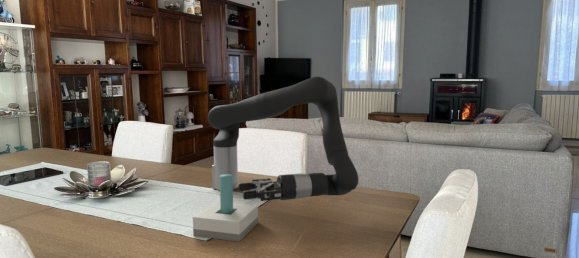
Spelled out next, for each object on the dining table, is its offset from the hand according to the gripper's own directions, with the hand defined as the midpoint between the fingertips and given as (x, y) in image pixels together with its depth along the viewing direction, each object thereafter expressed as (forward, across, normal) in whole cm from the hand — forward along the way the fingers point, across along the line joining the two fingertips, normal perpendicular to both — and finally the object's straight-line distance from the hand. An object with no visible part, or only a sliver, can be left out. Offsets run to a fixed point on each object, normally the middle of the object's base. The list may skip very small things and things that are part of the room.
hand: (241, 191), depth 113 cm
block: (+4, 0, +11) cm, 12 cm away
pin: (+4, 0, +9) cm, 10 cm away
